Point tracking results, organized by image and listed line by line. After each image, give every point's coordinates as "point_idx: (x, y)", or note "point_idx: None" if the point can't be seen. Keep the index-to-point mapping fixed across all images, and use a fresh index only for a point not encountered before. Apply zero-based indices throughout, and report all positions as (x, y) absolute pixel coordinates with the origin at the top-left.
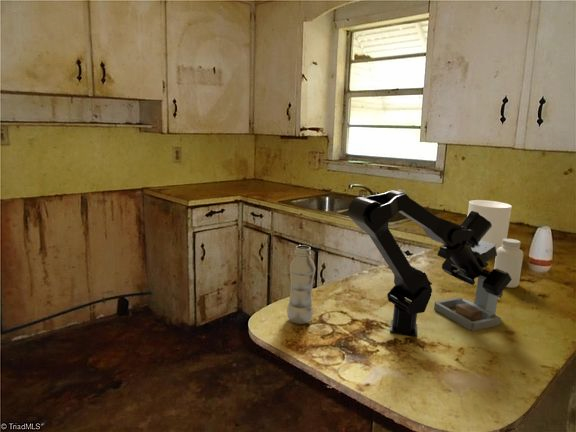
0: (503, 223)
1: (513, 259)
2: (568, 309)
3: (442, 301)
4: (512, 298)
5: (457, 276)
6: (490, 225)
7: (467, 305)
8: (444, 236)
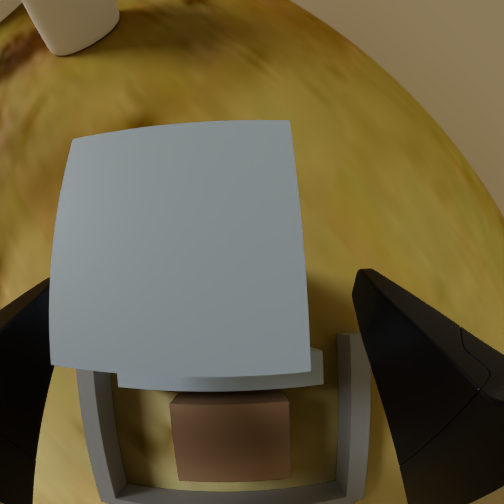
0: None
1: None
2: (295, 8)
3: (102, 472)
4: (161, 65)
5: (23, 496)
6: None
7: (202, 431)
8: None
